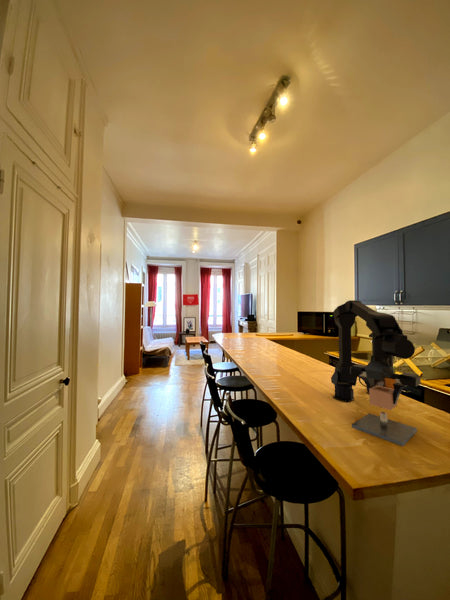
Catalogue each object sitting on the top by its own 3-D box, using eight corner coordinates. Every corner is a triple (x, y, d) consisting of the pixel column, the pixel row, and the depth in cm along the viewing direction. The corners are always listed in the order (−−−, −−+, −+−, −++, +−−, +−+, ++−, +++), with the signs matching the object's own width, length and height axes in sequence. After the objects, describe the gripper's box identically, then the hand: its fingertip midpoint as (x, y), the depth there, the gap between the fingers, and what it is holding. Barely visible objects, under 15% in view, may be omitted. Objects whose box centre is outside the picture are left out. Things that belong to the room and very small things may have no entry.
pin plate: (351, 427, 80) (351, 410, 80) (369, 416, 89) (368, 400, 89) (402, 446, 69) (402, 426, 69) (416, 431, 78) (416, 413, 78)
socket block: (369, 404, 80) (369, 388, 80) (376, 399, 83) (376, 385, 84) (390, 410, 75) (390, 393, 75) (397, 405, 79) (396, 389, 79)
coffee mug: (383, 392, 115) (383, 370, 115) (389, 398, 107) (388, 375, 107) (355, 389, 118) (355, 368, 119) (359, 395, 110) (359, 373, 111)
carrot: (382, 398, 106) (381, 364, 107) (392, 398, 106) (392, 364, 107) (390, 403, 101) (390, 366, 102) (402, 403, 101) (401, 366, 102)
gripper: (342, 351, 82) (342, 398, 81) (409, 360, 67) (410, 417, 67) (356, 348, 89) (357, 391, 88) (420, 356, 74) (421, 407, 74)
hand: (383, 400), depth 79 cm, fingers closed on socket block, 6 cm apart
